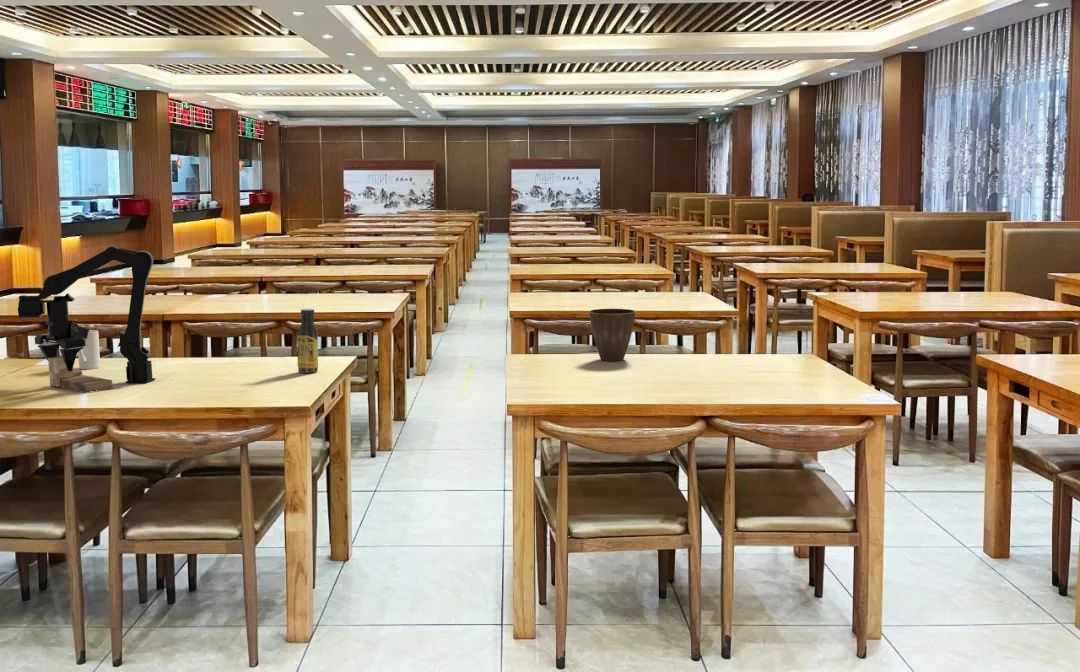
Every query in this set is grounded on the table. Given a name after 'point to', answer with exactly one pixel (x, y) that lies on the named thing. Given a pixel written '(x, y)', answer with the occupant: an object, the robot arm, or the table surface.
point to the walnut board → (85, 383)
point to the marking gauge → (59, 370)
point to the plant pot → (612, 332)
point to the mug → (90, 352)
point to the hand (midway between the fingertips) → (62, 369)
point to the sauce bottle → (307, 343)
